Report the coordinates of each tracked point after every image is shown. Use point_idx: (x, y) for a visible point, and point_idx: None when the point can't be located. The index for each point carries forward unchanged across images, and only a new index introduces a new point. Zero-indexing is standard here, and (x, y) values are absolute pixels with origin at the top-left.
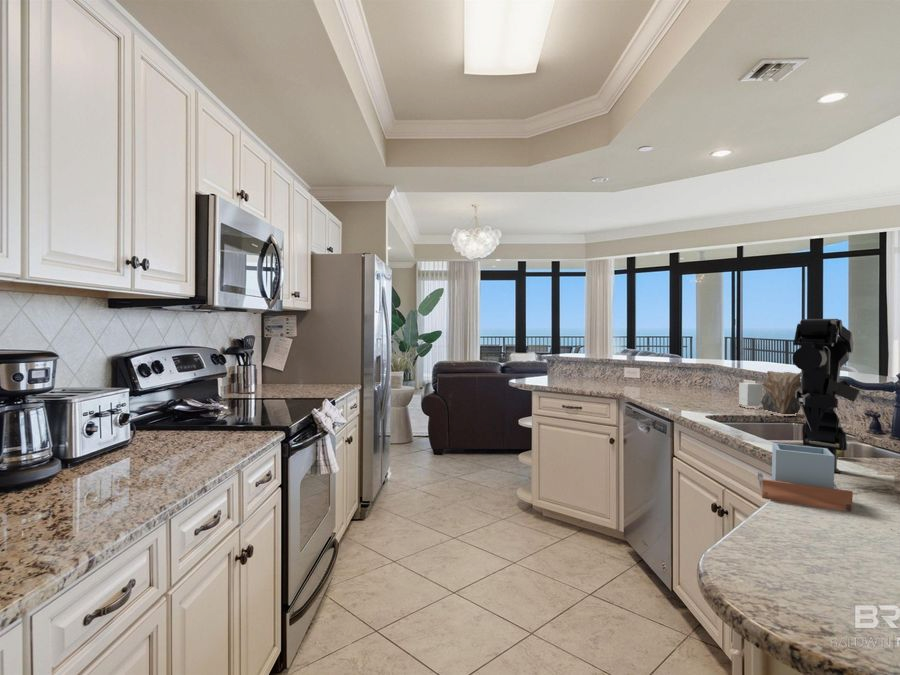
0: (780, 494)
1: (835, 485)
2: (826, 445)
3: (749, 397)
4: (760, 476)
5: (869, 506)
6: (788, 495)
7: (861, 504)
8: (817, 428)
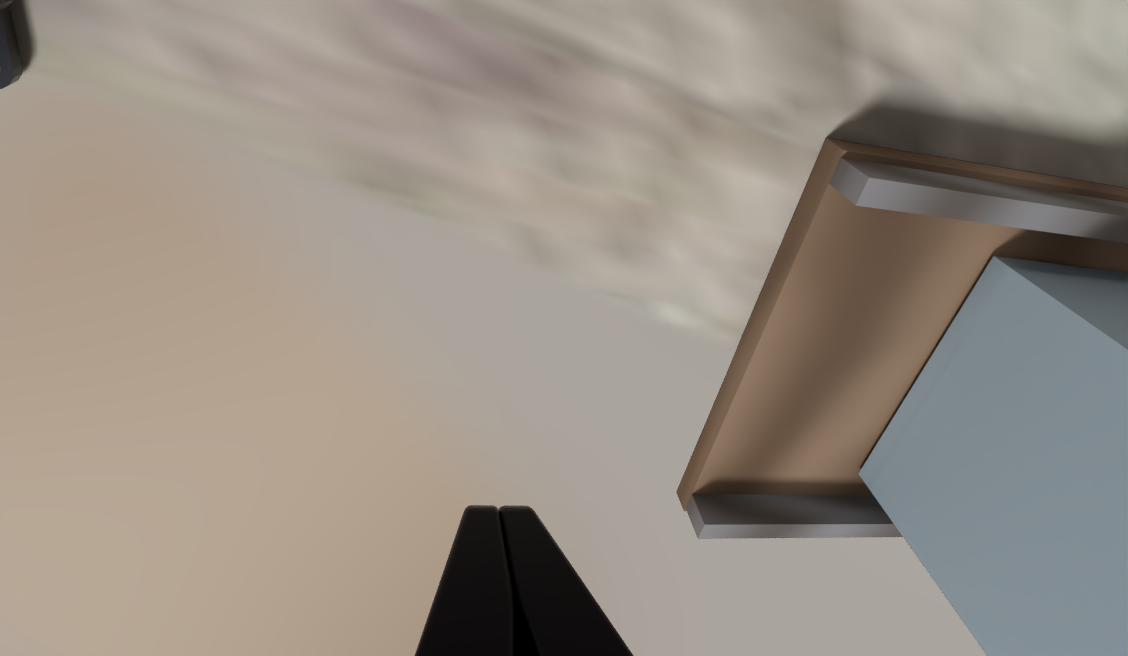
0: None
1: (963, 194)
2: None
3: None
4: (793, 532)
5: (1114, 7)
6: None
7: (1070, 46)
8: (568, 563)
